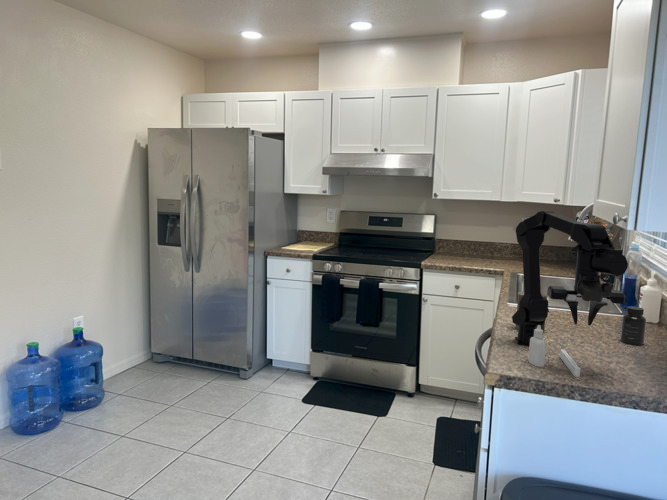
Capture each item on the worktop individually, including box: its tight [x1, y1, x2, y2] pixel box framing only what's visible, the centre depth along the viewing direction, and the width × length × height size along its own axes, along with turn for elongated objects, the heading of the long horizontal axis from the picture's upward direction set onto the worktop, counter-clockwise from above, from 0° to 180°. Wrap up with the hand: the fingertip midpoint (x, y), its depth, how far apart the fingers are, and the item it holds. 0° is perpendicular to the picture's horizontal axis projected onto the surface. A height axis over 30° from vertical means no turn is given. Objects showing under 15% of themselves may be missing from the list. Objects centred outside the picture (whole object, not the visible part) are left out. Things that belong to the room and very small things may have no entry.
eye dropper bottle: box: [527, 325, 547, 368], centre depth 140 cm, size 4×6×12 cm
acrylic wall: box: [559, 348, 581, 378], centre depth 139 cm, size 16×1×3 cm, turn 168°
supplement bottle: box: [620, 305, 647, 346], centre depth 165 cm, size 7×7×12 cm
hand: (582, 324), depth 137 cm, fingers open, 3 cm apart
